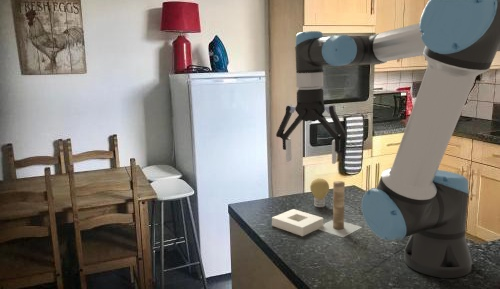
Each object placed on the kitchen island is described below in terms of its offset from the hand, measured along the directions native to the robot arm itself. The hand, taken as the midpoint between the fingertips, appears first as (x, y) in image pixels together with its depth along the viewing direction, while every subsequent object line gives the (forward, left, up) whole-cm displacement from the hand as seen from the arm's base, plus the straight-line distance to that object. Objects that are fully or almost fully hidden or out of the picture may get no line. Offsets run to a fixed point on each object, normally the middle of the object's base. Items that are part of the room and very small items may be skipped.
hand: (311, 161), depth 123 cm
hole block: (+4, +2, -21) cm, 21 cm away
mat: (-6, -5, -21) cm, 22 cm away
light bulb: (+10, -17, -21) cm, 29 cm away
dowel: (-6, -6, -20) cm, 22 cm away
